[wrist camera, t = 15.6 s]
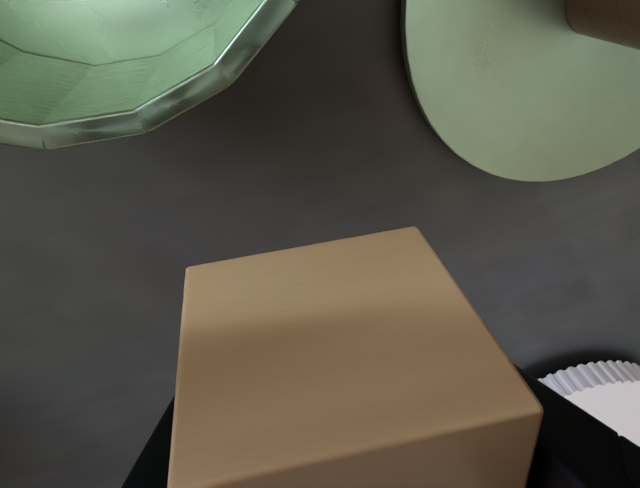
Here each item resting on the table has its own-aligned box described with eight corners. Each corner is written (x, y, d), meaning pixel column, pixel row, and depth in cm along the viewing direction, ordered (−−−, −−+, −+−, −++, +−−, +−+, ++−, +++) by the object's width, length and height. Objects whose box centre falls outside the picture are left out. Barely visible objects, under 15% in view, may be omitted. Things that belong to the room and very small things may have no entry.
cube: (414, 381, 12) (506, 583, 8) (231, 420, 11) (239, 653, 8) (416, 223, 9) (548, 409, 6) (183, 265, 9) (164, 496, 5)
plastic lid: (692, 383, 32) (725, 414, 30) (545, 504, 38) (565, 538, 35) (559, 318, 27) (588, 351, 25) (407, 471, 32) (421, 509, 30)
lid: (692, 142, 22) (820, 197, 17) (398, 197, 21) (451, 272, 16) (834, -295, 15) (1126, -404, 10) (388, -252, 13) (481, -353, 9)
